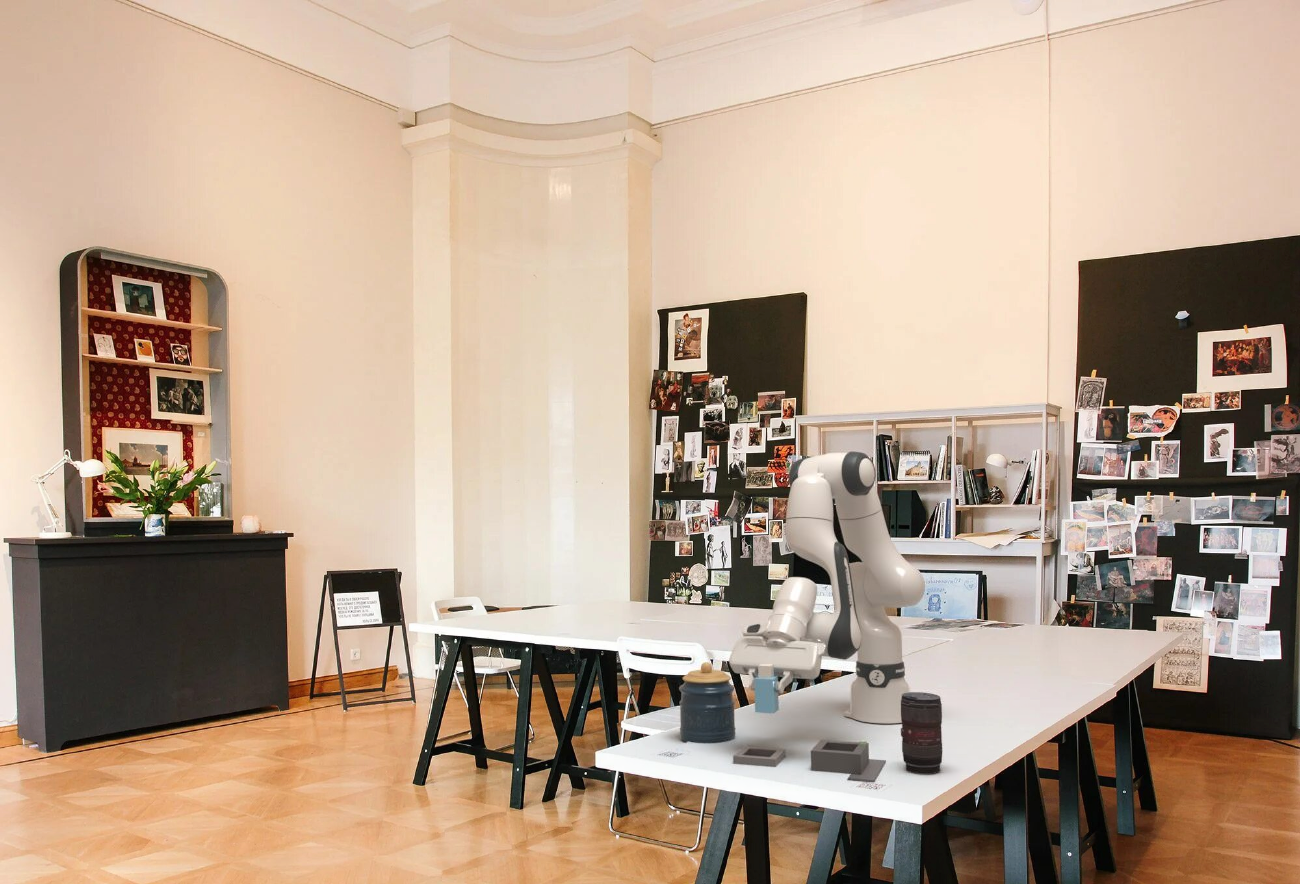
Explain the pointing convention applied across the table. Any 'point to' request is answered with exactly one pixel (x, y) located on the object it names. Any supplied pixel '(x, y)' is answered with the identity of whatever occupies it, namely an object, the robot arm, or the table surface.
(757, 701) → the plug
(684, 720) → the canister
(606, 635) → the table surface
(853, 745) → the port
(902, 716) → the camera lens
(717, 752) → the table surface
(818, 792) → the table surface
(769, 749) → the grey square tray
